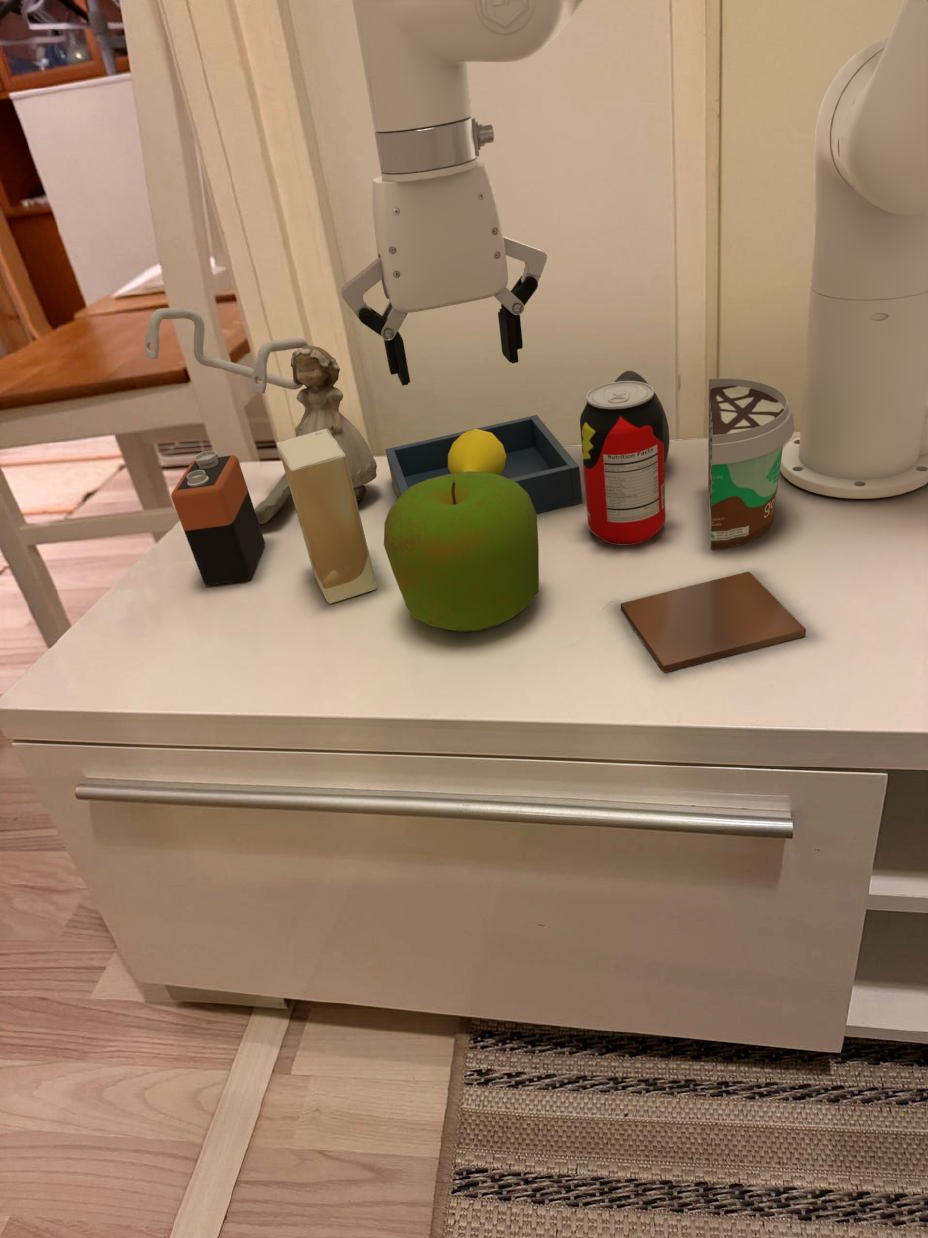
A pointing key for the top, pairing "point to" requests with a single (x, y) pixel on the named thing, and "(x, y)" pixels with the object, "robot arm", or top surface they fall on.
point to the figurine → (330, 412)
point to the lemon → (477, 453)
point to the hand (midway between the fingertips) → (457, 369)
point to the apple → (464, 550)
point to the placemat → (710, 621)
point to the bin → (527, 462)
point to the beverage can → (623, 462)
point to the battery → (218, 518)
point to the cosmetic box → (328, 514)
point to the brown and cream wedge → (744, 457)
